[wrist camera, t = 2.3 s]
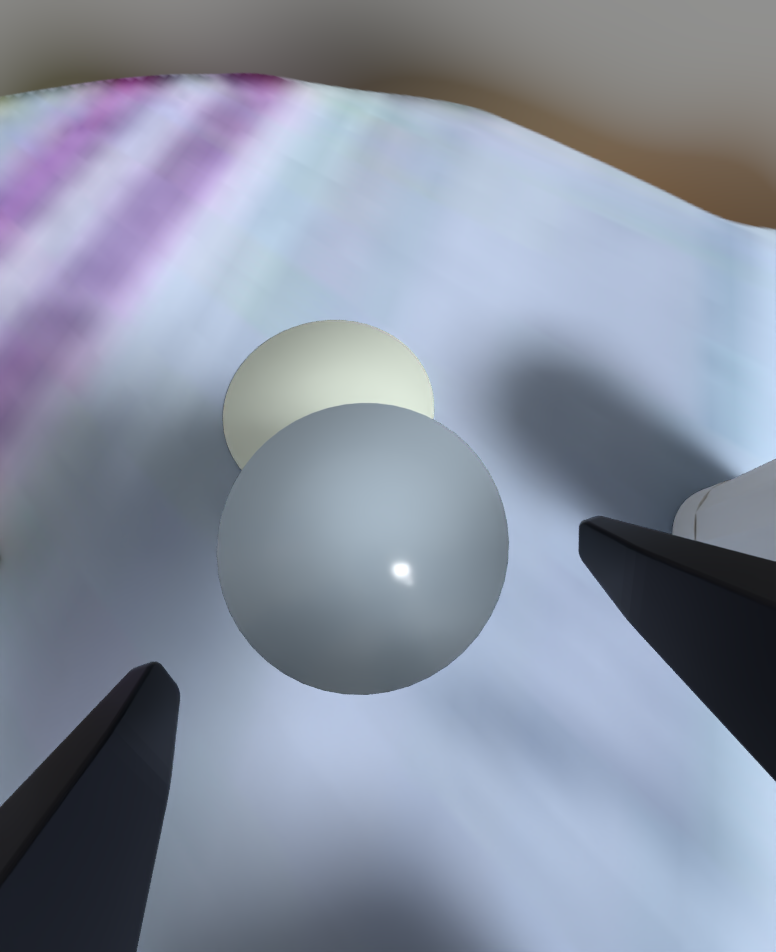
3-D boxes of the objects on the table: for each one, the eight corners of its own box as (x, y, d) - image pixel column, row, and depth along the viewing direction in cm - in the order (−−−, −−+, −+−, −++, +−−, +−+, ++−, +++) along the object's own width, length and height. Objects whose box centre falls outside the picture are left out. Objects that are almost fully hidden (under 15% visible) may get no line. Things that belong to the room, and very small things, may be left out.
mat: (443, 501, 17) (443, 500, 17) (212, 511, 17) (210, 510, 17) (425, 318, 21) (425, 316, 21) (234, 325, 21) (233, 323, 21)
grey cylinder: (445, 637, 15) (532, 687, 6) (315, 643, 15) (198, 702, 6) (434, 511, 17) (487, 397, 8) (318, 516, 17) (232, 408, 8)
